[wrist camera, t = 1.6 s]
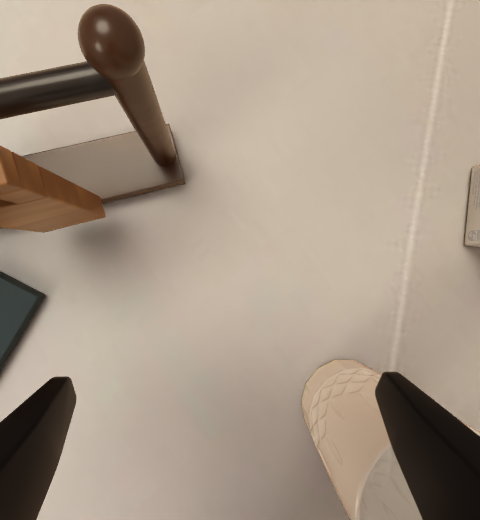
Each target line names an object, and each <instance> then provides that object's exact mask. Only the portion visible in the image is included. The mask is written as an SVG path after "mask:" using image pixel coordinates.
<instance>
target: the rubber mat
mask: <svg viewBox="0 0 480 520" xmlns="http://www.w3.org/2000/svg"><path fill="white" fill-rule="evenodd" d="M44 297H45V295H44V294H42V293H40V292H38V291H36V290H35V289H33V288H31V287H29V286H27V285H25V284H23V283H21V282H19V281H17V280H15V279H13V278H12V277H10V276H8V275H6V274H4V273H2V272H0V371H1V369H2V367H3V366H4V364H5V362H6V361H7V359H8V357H9V356H10V354H11V352H12V351H13V349H14V347H15V346H16V344H17V342H18V340H19V339H20V337H21V335H22V334H23V332H24V330H25V329H26V327H27V325H28V324H29V322H30V320H31V319H32V317H33V315H34V314H35V312H36V310H37V308H38V307H39V305H40V303H41V302H42V300H43V298H44Z"/></svg>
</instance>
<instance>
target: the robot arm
mask: <svg viewBox="0 0 480 520" xmlns="http://www.w3.org/2000/svg"><path fill="white" fill-rule="evenodd" d="M375 397H376V400H377V403H378V406H379V410H380V413H381V416H382V419H383V422H384V425H385V428H386V431H387V434H388V437H389V440H390V443H391V446H392V449H393V452H394V454H395V456H396V459H397V461H398V464H399V466H400V468H401V471H402V473H403V475H404V478H405V480H406V482H407V485H408V487H409V489H410V492H411V494H412V496H413V499H414V501H415V503H416V505H417V508H418V510H419V512H420V515H421V517H422V519H423V520H480V436H479V435H478V434H476V433H475V432H474V431H472V430H471V429H470V428H469V427H467V426H466V425H465V424H464V423H462V422H461V421H460V420H458V419H457V418H456V417H455V416H453V415H452V414H451V413H450V412H448V411H447V410H446V409H444V408H443V407H442V406H441V405H439V404H438V403H437V402H436V401H434V400H433V399H432V398H430V397H429V396H428V395H427V394H425V393H424V392H423V391H422V390H420V389H419V388H418V387H416V386H415V385H414V384H413V383H411V382H410V381H409V380H407V379H406V378H405V377H404V376H402V375H401V374H400V373H398V372H384V373H382V375H381V377H380V379H379V382H378V384H377V386H376V389H375ZM75 404H76V394H75V390H74V387H73V384H72V380H71V378H69V377H53V378H51V379H50V380H49V381H48V382H46V383H45V384H44V385H43V386H42V387H41V388H40V389H38V390H37V391H36V392H35V393H34V394H33V395H31V396H30V397H29V398H28V399H27V400H26V401H24V402H23V403H22V404H21V405H20V406H19V407H18V408H16V409H15V410H14V411H13V412H12V413H11V414H9V415H8V416H7V417H6V418H5V419H4V420H3V421H1V422H0V520H36V519H37V516H38V514H39V511H40V509H41V506H42V504H43V501H44V499H45V496H46V494H47V491H48V489H49V486H50V484H51V481H52V479H53V476H54V474H55V471H56V468H57V466H58V463H59V459H60V456H61V453H62V450H63V446H64V443H65V439H66V436H67V432H68V429H69V425H70V422H71V418H72V415H73V412H74V408H75Z"/></svg>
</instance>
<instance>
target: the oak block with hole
mask: <svg viewBox="0 0 480 520" xmlns="http://www.w3.org/2000/svg"><path fill="white" fill-rule="evenodd" d="M104 217H106V215H105V211H104V208H103V204H102V201H101V198H100V196H98V195H96V194H94V193H92V192H90V191H88V190H86V189H84V188H82V187H80V186H78V185H76V184H75V183H73V182H71V181H69V180H67V179H65V178H63V177H61V176H59V175H57V174H55V173H53V172H51V171H49V170H47V169H45V168H43V167H41V166H39V165H37V164H35V163H33V162H31V161H30V160H28V159H26V158H24V157H22V156H20V155H18V154H16V153H14V152H11V151H10V150H8V149H6V148H4V147H2V146H0V227H2V228H10V229H19V230H27V231H36V232H48V231H52V230H56V229H60V228H64V227H68V226H72V225H76V224H80V223H84V222H88V221H92V220H96V219H100V218H104Z"/></svg>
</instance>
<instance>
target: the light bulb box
mask: <svg viewBox="0 0 480 520" xmlns="http://www.w3.org/2000/svg"><path fill="white" fill-rule="evenodd" d="M465 245H467V246H475V247H480V165H478V166H475V167H473V168H472V175H471V185H470V194H469V204H468V214H467V225H466V234H465Z"/></svg>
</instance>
